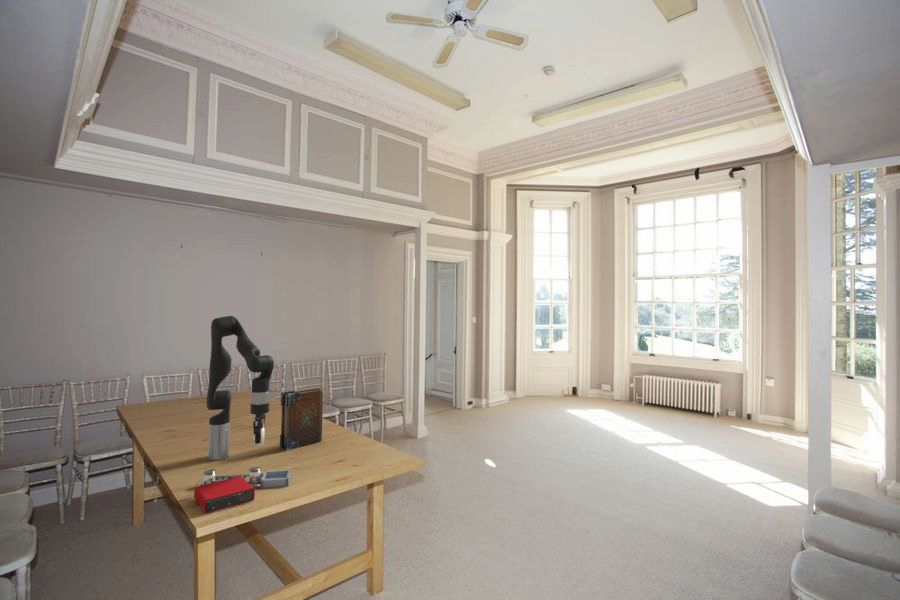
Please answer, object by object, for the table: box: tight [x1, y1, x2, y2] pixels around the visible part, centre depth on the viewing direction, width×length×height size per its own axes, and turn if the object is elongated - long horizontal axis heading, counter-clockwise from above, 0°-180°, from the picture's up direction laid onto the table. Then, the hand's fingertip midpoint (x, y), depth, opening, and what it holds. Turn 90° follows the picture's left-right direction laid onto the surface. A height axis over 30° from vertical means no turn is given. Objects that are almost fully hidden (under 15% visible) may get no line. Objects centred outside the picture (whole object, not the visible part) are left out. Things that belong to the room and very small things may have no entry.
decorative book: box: [279, 387, 324, 452], centre depth 249 cm, size 23×7×30 cm, turn 143°
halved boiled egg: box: [252, 426, 266, 447], centre depth 194 cm, size 4×4×7 cm
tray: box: [260, 469, 292, 489], centre depth 195 cm, size 11×11×3 cm
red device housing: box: [193, 476, 256, 514], centre depth 176 cm, size 18×14×5 cm
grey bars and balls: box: [196, 466, 264, 489], centre depth 191 cm, size 19×26×6 cm
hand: (258, 441), depth 194 cm, fingers closed on halved boiled egg, 4 cm apart
